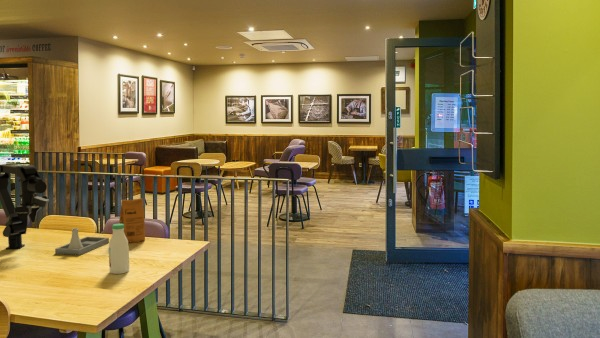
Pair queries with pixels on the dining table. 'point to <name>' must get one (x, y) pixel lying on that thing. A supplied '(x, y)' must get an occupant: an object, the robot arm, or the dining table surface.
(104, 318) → the dining table surface
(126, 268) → the milk bottle
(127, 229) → the coffee package
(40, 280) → the dining table surface
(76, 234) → the flask
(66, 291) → the dining table surface
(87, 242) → the caddy tray
